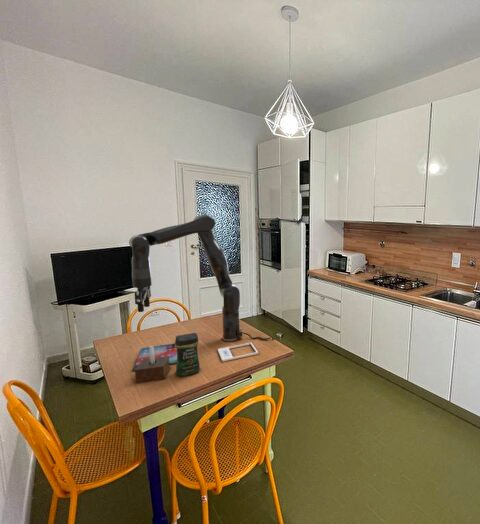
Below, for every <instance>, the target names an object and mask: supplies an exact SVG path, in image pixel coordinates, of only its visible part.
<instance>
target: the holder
mask: <svg viewBox="0 0 480 524" xmlns="http://www.w3.org/2000/svg"><path fill="white" fill-rule="evenodd" d="M170 367H171V366H170V365H169V356H164V357H156V358H155V364H151V361H150V358H147V359H142V361H141V362H140V364H139V365H138V366H137V368H136V369H135V371H134V374H135V375H134V376H135V383H136V384H138V383H144V382H153V381H158V380H164V379H165V378H166V376H167V374H168V372H169V370H170Z"/></svg>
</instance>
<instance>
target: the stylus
mask: <svg viewBox="0 0 480 524" xmlns="http://www.w3.org/2000/svg"><path fill="white" fill-rule="evenodd" d="M153 346H154V345H151V346H149V347H150V361H151V364H155V357H154V347H153Z"/></svg>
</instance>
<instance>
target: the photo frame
mask: <svg viewBox="0 0 480 524" xmlns="http://www.w3.org/2000/svg"><path fill="white" fill-rule="evenodd" d="M245 346H251V348H252V349H253V350H254V352H251V353H247V354H242V355H237V356H233V354H232V352H231V350H230V349H235V348H241V347H245ZM217 352H218V355H219V357H220V360H221V362H222V363H224V362H228V361H233V360H237V359H242V358H247V357H252V356H256V355H259V351H258V350H257V348H256V347H255V345H254V344H253V343H252V342H246V343H241V344H236V345H232V346H231V345H230V346H226V347H220V348H218V349H217Z"/></svg>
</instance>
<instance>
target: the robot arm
mask: <svg viewBox="0 0 480 524" xmlns="http://www.w3.org/2000/svg"><path fill="white" fill-rule="evenodd" d="M215 227H216V221H215V219H214V217H213V216H211V215H210V214H199V215H196V216H195V217H194V219H193V220H191V221H188V222H184V223H180V224H175V225H170V226H166V227H163V228H162V227H161V228H160V229H155V230H153V231H149V232H144V233H140V234H136V235H132V237H130V239H129V241H128V245H129V247H130V248H131V251H132V257H131V281H132V288H135V289H137V290H136V291H134V304H135V305H136V306H137V312H138V313H143V312H145V308H149V307H150V306H151V304H150V302H151V301H150V300H151V297H152V293H151V291H152V290H151V286H152V285H153V283H152V271H151V264H150V263H151V262H150V253H151V252H150V251H151V250H150V249H151V247H152V246H156V245H162V244H163V245H164V244H165V243H170V242H172V241H175V240H178V239H181V238H183V237H187V236H190V235H191V236H192V235H195V234H197V235H198V237H199V239H200V242H201V244H202V247H203V250H204V253H205V256H206V258H207V261H208V264H209V267H210V268H211V271H212V273H213V275H214V277H215V279H216V283H217V285H218V286H217V287H218V290H219V293H220V296H221V297H222V300H223V306H222V307H221V315H222V316H221V318H222V320H221V321H222V340H223V341H224V342H234V341H237V340H240V338H241V337H243V335H246V336H248V337H249V338H250V339H251V340H256V339H261V340H263V341H267V340H272V341H275V338H274V337H266V338H263V337H261V336H256V337H255V336H254V337H252V336H251V334H249V333H246V332H244V331H243V328H241V329H240V306H241V292H240V289H239V287H237V286H236V285H234V283H233V281H232V279H231V277H230V273H229V264H228V260H227V257H226V254H225V252H224V250H223V248H222V246H221V245H220V244H219V242H218V241H217V239H216V237H215V236H214V232H213V230H214V229H215ZM271 338H272V339H271Z"/></svg>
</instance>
